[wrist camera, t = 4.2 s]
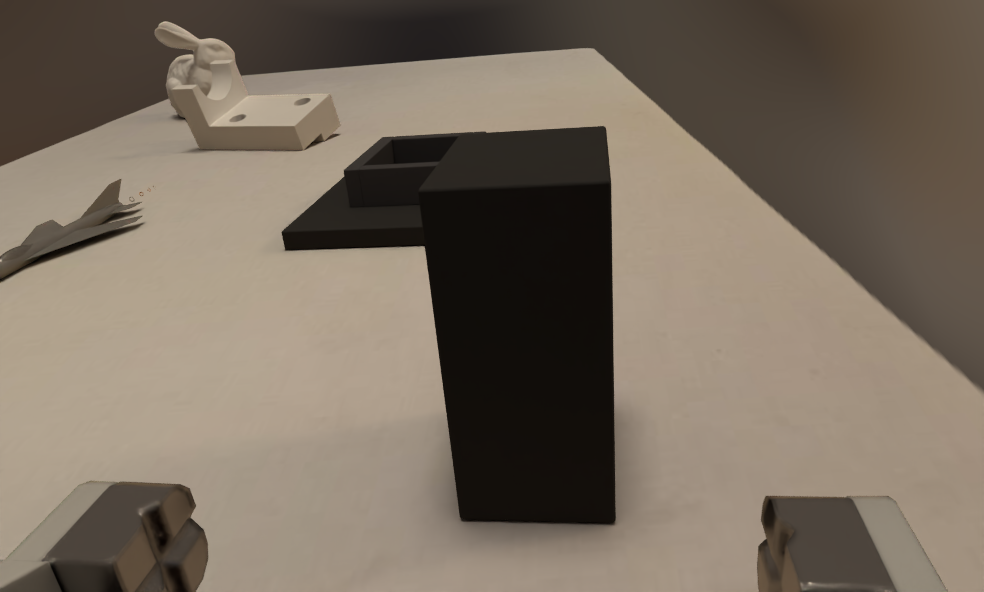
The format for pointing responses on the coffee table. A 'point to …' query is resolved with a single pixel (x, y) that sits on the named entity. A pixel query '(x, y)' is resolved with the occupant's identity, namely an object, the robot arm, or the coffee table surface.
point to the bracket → (253, 115)
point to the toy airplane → (68, 231)
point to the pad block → (525, 321)
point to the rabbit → (191, 59)
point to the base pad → (373, 197)
